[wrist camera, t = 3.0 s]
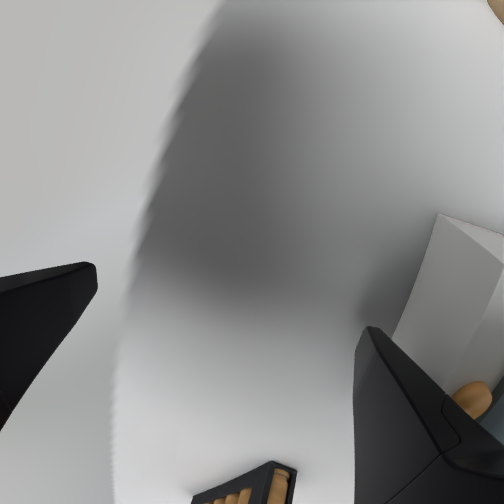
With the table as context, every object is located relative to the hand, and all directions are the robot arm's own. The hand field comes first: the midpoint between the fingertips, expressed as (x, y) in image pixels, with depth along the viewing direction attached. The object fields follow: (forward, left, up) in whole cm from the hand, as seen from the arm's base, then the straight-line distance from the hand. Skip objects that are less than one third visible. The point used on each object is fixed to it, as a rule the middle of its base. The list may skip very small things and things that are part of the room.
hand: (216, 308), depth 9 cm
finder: (-8, 0, -1) cm, 9 cm away
